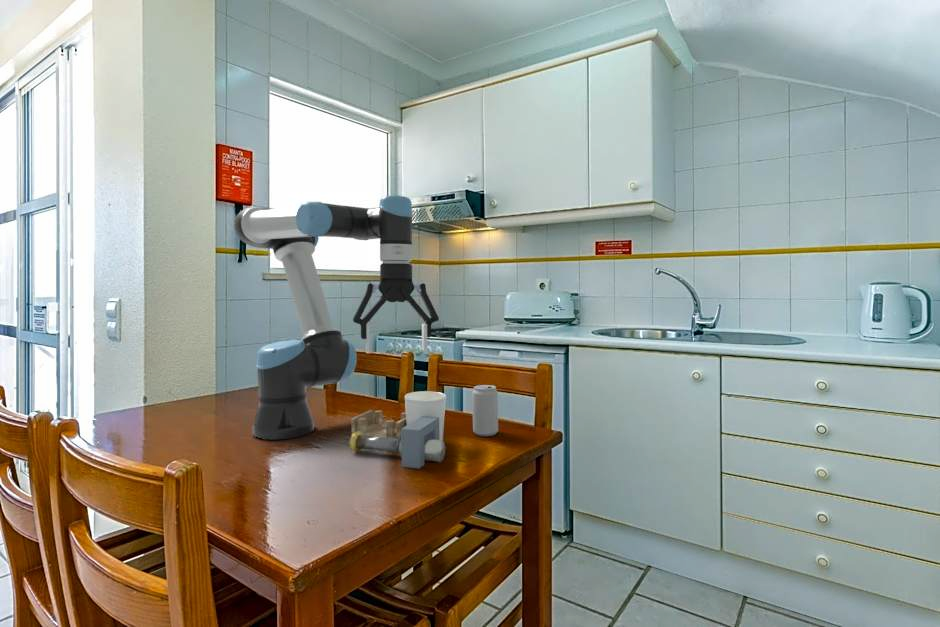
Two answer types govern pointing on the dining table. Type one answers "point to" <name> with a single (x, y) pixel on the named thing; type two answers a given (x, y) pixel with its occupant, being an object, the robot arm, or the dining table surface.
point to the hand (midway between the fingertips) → (396, 351)
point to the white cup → (425, 407)
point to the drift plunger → (373, 443)
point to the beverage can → (485, 410)
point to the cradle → (377, 425)
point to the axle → (431, 450)
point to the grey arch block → (417, 440)
